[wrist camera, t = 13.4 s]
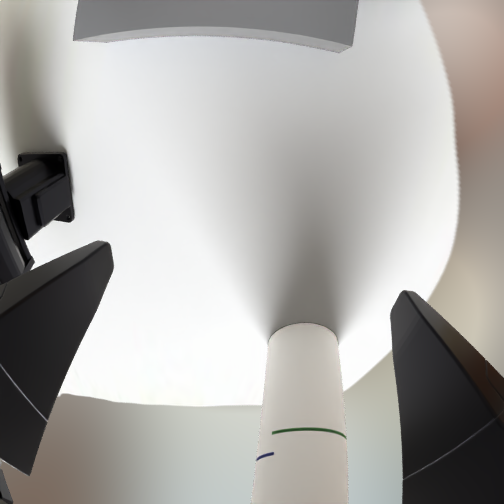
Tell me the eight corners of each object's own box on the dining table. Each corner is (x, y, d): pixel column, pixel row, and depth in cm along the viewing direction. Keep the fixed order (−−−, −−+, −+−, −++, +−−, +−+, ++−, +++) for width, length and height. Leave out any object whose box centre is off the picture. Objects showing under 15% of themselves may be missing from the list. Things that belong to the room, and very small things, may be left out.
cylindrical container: (254, 349, 30) (217, 591, 9) (299, 311, 26) (283, 611, 6) (305, 373, 32) (294, 588, 11) (352, 342, 28) (364, 592, 7)
